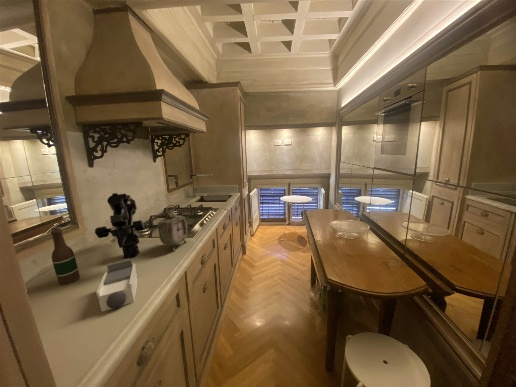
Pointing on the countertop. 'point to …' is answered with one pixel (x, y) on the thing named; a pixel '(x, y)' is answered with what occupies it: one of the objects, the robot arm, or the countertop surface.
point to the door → (119, 271)
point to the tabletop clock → (173, 229)
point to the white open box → (117, 292)
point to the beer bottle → (63, 260)
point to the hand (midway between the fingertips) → (121, 245)
